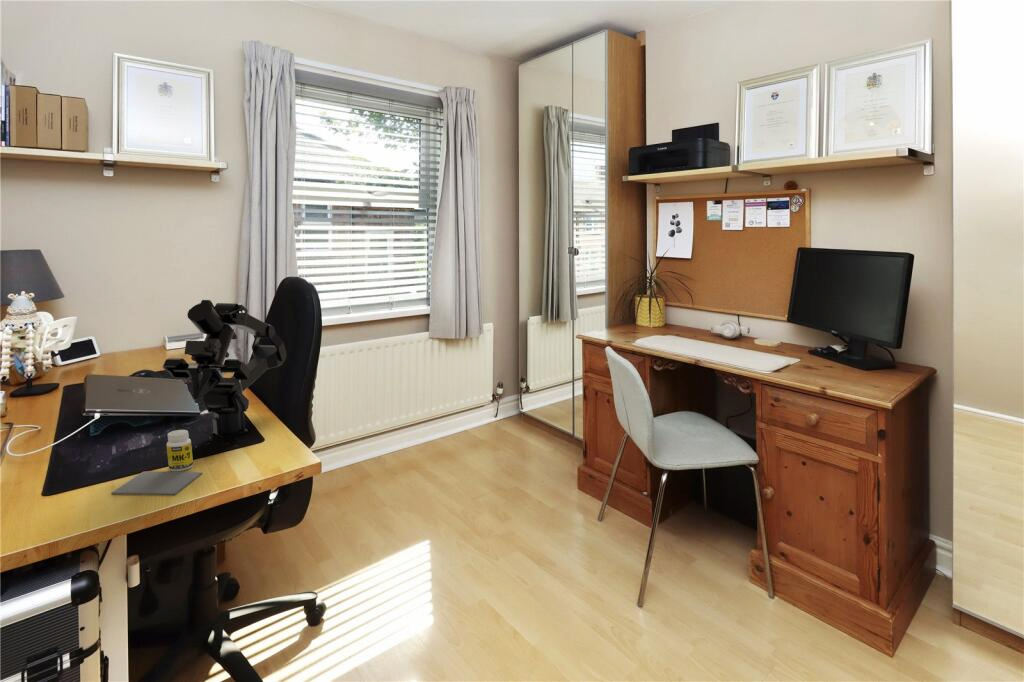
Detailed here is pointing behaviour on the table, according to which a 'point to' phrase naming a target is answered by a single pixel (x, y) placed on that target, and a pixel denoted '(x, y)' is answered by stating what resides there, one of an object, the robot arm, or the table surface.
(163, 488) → the mat
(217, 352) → the robot arm
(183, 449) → the supplement bottle
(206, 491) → the table surface
